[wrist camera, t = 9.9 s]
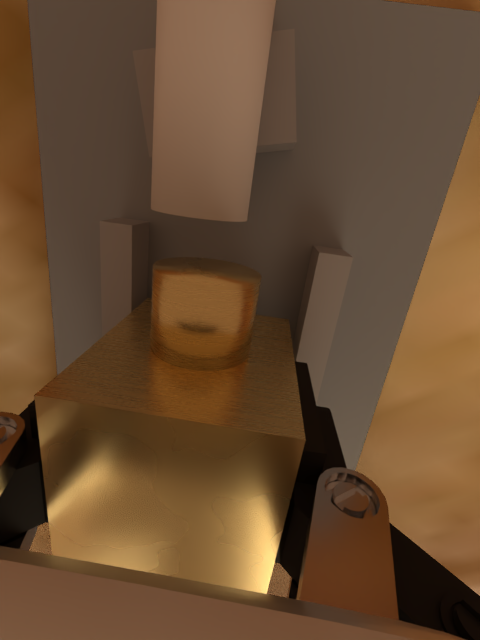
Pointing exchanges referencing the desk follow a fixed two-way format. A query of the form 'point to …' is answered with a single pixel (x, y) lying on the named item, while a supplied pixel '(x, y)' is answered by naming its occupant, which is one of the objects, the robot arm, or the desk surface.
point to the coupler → (177, 433)
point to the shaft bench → (314, 195)
